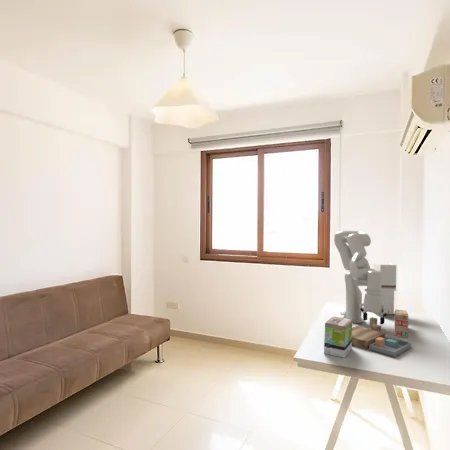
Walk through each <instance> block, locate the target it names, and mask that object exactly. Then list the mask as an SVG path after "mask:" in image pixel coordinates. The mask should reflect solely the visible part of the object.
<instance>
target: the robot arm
mask: <svg viewBox="0 0 450 450" xmlns="http://www.w3.org/2000/svg"><path fill="white" fill-rule="evenodd" d="M333 237H334V239H333V240H334V245H335V247H336V249H337V250H338V253H339V255H340V260H341V262H342V263H341V264H342V267H343V268H344V270H345V271H348V272H346V273H345V274H344V283H345V311H344V310H340V315H341V316H343V317H342V318H346V319H351V320H352V324H353V323H354V324H361V323H364V322H366V321H367V320H368V313H372V314H374V313H377V314H380V316H381V317H379V325H380V326H382V325H384V324H385V318H386V317H385V316H387V315H388V313H389V312H390V311H389V310H388V309H387V308H385V307H384V303H383V297H382V295H381V272H380V271H376V270H374V269H373V268H371V266H370V263H369V260H368V259H367V258H366V257H367V254H368V253H367V250H366V248H365V247H369V246H370V245H371V243H372V242H371V241H372V240H371V237H370V235H369V234H368V233H365V232H362V231H360V230H340V231H337V232H336V233H335V234H334V236H333ZM359 287H366V288H365V289H364V291H365V292H366V293H365V295H364V299H363V298H362V297H363V293H362V291H361V289H360V288H359ZM362 302H363V303H362ZM384 310H385V311H386V312H385V314H384V313H383V312H384Z"/></svg>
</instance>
